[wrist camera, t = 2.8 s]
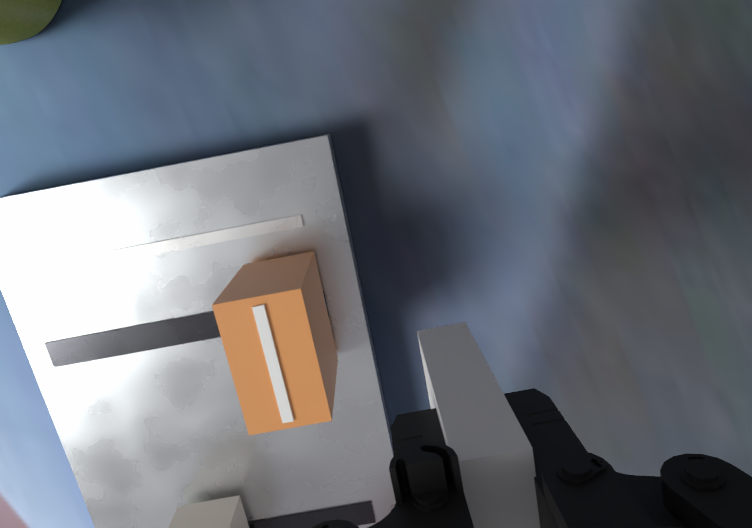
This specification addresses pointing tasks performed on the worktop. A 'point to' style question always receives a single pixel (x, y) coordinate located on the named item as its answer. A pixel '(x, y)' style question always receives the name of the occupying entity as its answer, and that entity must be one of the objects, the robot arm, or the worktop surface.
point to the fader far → (211, 514)
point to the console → (192, 337)
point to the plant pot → (24, 18)
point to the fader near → (279, 343)
